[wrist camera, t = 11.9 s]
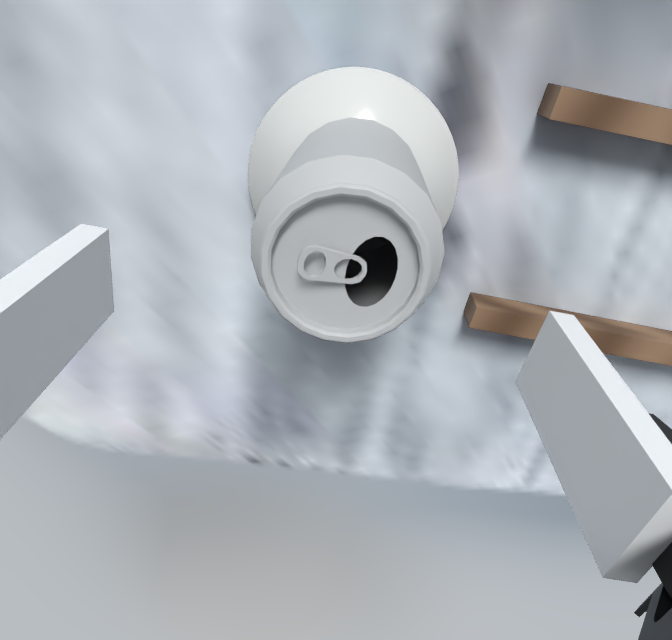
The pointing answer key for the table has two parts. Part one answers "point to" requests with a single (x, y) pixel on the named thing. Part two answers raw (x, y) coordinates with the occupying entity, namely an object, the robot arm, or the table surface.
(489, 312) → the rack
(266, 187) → the white glossy ellipsoid
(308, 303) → the can
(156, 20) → the table surface
